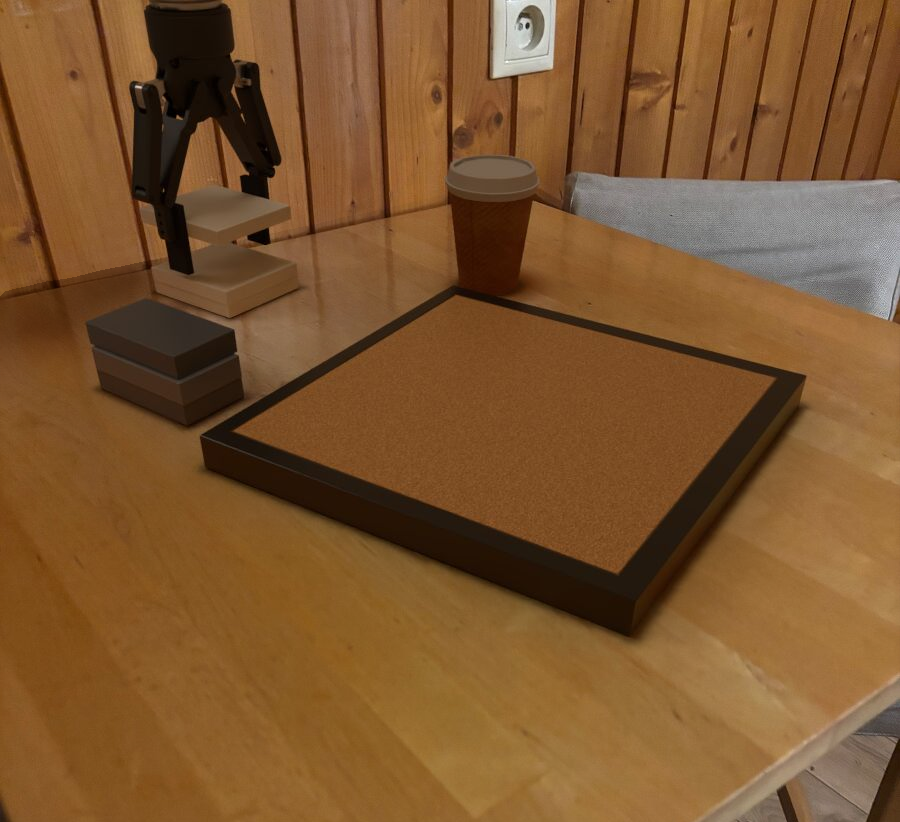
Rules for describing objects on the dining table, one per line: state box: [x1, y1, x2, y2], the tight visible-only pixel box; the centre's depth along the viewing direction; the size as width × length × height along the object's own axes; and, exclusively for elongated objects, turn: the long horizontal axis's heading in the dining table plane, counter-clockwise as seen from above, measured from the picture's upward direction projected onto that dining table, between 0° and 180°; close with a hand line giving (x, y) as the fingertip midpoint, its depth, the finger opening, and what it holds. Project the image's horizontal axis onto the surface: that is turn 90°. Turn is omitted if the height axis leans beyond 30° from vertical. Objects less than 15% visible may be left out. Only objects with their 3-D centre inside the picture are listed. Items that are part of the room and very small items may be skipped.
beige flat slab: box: [139, 184, 292, 246], centre depth 94 cm, size 11×10×1 cm
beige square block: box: [150, 242, 300, 319], centre depth 98 cm, size 11×10×3 cm
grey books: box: [84, 297, 245, 427], centre depth 79 cm, size 12×7×6 cm, turn 54°
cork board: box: [199, 285, 808, 637], centre depth 75 cm, size 36×3×35 cm
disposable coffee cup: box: [444, 153, 541, 296], centre depth 97 cm, size 10×10×12 cm
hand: (221, 255), depth 97 cm, fingers closed on beige flat slab, 10 cm apart
